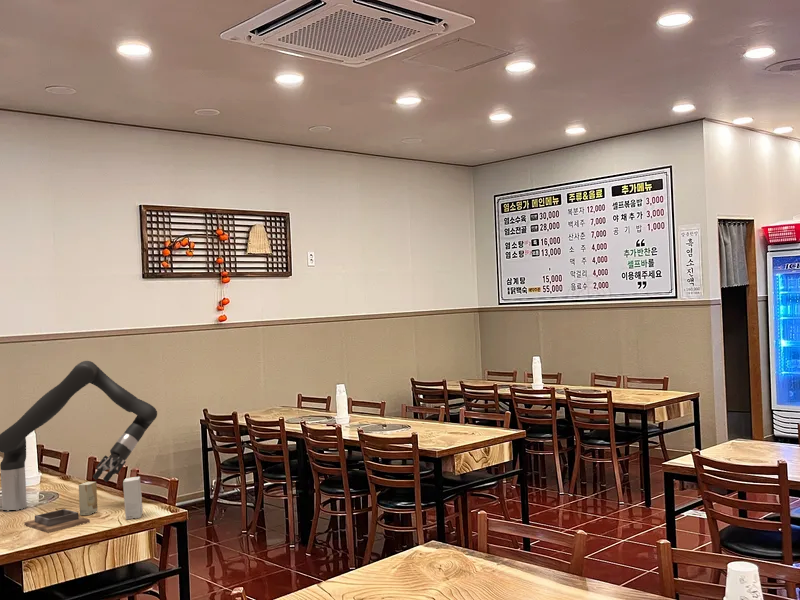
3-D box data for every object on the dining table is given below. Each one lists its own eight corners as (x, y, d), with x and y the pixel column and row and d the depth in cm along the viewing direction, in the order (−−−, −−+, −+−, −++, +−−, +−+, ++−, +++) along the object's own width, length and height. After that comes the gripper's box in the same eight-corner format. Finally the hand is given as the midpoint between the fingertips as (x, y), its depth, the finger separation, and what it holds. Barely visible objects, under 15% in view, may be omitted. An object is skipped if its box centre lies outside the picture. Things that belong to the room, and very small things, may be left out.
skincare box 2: (141, 518, 305) (139, 479, 306) (124, 520, 304) (122, 481, 304) (143, 513, 314) (141, 475, 314) (127, 514, 312) (125, 477, 312)
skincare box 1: (89, 515, 314) (87, 484, 314) (79, 515, 315) (77, 484, 315) (98, 511, 321) (96, 481, 321) (88, 511, 322) (87, 481, 322)
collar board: (24, 525, 304) (23, 515, 304) (64, 515, 317) (64, 506, 317) (48, 532, 291) (47, 522, 291) (89, 522, 303) (89, 512, 303)
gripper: (109, 440, 334) (84, 472, 325) (127, 442, 324) (102, 476, 315) (121, 450, 338) (97, 483, 329) (139, 453, 328) (115, 486, 319)
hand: (99, 479), depth 322 cm, fingers open, 8 cm apart
